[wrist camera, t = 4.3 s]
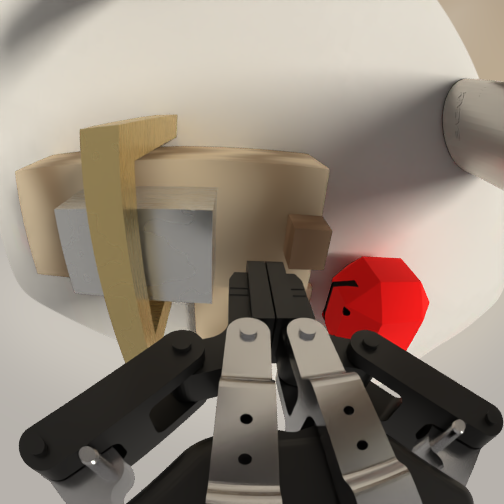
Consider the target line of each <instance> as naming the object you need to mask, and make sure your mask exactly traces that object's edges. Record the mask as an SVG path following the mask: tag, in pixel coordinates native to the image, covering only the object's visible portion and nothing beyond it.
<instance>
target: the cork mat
mask: <svg viewBox="0 0 504 504" xmlns="http://www.w3.org/2000/svg"><path fill="white" fill-rule="evenodd" d="M305 291H306V294H307V297H308V300H309V301H310V297H311V293H312V286H311V284H310V283H308V287H307V289H305ZM228 295H229V288H227V287H213V298H212V304H207V303H194V305H195V321H196V334H198V335H199V336H200V337H201V338H202V339H205V338H210V337H214V336H216V335H219V334H220V333H222V332H223V331H224V330H225V329H226V328H227V326H228Z"/></svg>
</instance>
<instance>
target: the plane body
mask: <svg viewBox="0 0 504 504" xmlns="http://www.w3.org/2000/svg"><path fill="white" fill-rule="evenodd" d="M329 172H330V169H329V168H327V167H326V166H324V165H323V164H322V163H320V162H319V161H317V160H316V159H315V158H313V157H312V156H310V155H309V154H304V153H295V152H285V151H274V150H262V149H248V148H229V147H194V146H169V147H158V148H156V149H154V150H152V151H151V152H149V153H147V154H145V155H144V156H142V157H140V158H139V159H137V160H135V183H136V186H184V187H217V215H216V260H215V276H214V287H227V288H229V279H230V277H231V276H232V274H233V273H234V272H246V264H247V261H264V262H265V261H274V262H283V264H284V267H285V270H286V274H295V275H296V276H297V277H299V278H300V279H301V280H302V282H303V285H304V288H305V289H307V287H308V282H309V278H310V273H311V270H324V266H325V262H326V257H327V253H328V249H329V244H330V240H331V235H332V230H331V228H330V227H329V225H328V224H327V223H326V221H325V220H324V218H323V217H322V213H323V207H324V202H325V196H326V190H327V184H328V178H329ZM15 175H16V183H17V189H18V195H19V201H20V206H21V212H22V216H23V221H24V225H25V230H26V234H27V238H28V242H29V246H30V249H31V253H32V256H33V260H34V263H35V266H36V269H37V273H38V274H43V275H53V276H63V277H70V276H69V273H68V269H67V266H66V262H65V258H64V254H63V250H62V246H61V241H60V237H59V232H58V227H57V222H56V217H55V212H54V209H55V208H57V207H58V206H60V205H61V204H62V203H64V202H65V201H66V200H68V199H69V198H71V197H72V196H73V195H75V194H76V193H78V192H79V191H81V190H82V189H84V187H83V177H82V165H81V152H73V153H64V154H57V155H52V156H49V157H47V158H44V159H42V160H39V161H37V162H35V163H33V164H30V165H28V166H26V167H24V168H22V169H19V170H17V171H15Z"/></svg>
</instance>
